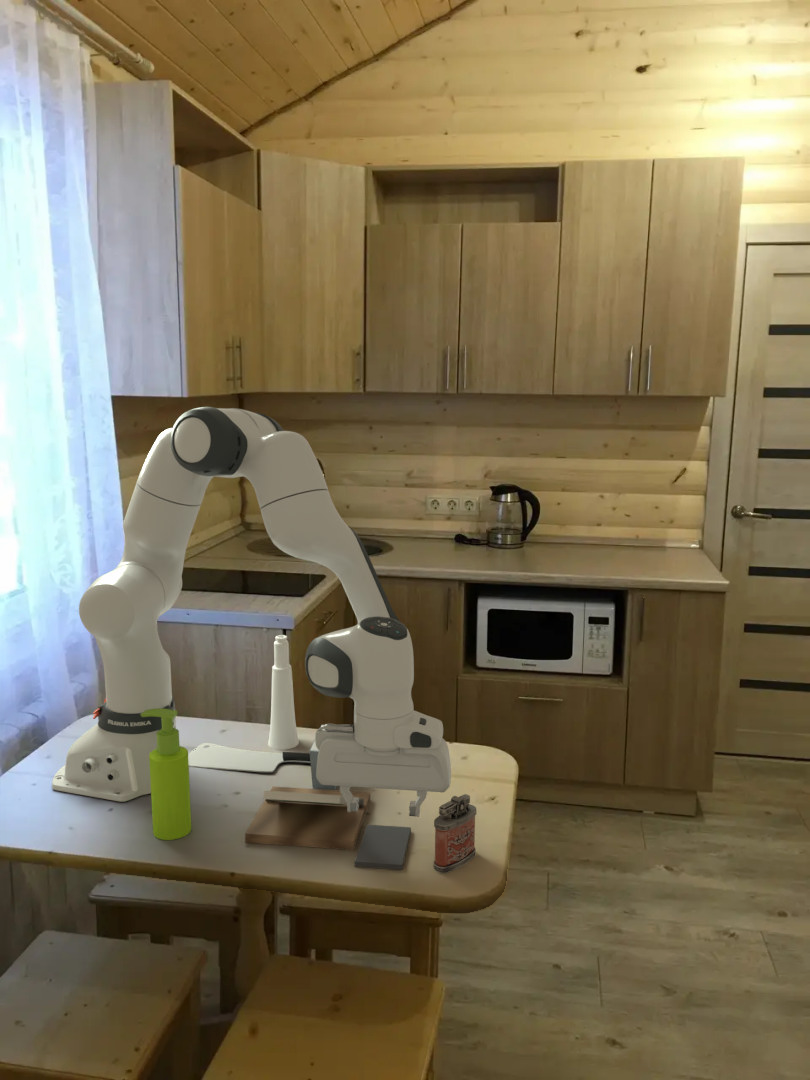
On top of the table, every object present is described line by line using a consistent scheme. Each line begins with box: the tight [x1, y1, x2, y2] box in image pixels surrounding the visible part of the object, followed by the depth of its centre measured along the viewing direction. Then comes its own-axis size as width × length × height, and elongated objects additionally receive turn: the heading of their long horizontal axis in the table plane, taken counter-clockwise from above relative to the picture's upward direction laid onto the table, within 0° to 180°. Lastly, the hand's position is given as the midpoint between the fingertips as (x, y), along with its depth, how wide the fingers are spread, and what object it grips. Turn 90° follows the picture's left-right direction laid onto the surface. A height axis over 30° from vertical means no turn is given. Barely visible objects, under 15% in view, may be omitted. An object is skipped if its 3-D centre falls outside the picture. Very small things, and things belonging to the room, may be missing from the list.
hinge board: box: [244, 786, 371, 851], centre depth 145 cm, size 17×16×3 cm
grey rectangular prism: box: [309, 724, 338, 790], centre depth 158 cm, size 4×8×8 cm
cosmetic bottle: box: [267, 634, 300, 751], centre depth 172 cm, size 6×6×22 cm
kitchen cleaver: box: [188, 742, 311, 773], centre depth 165 cm, size 31×2×10 cm
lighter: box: [433, 793, 477, 874], centre depth 132 cm, size 8×3×10 cm, turn 136°
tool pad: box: [354, 823, 412, 871], centre depth 137 cm, size 7×11×1 cm, turn 173°
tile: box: [263, 790, 347, 806], centre depth 143 cm, size 12×10×1 cm
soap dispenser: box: [140, 708, 192, 841], centre depth 140 cm, size 6×7×20 cm
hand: (383, 812), depth 135 cm, fingers open, 8 cm apart
